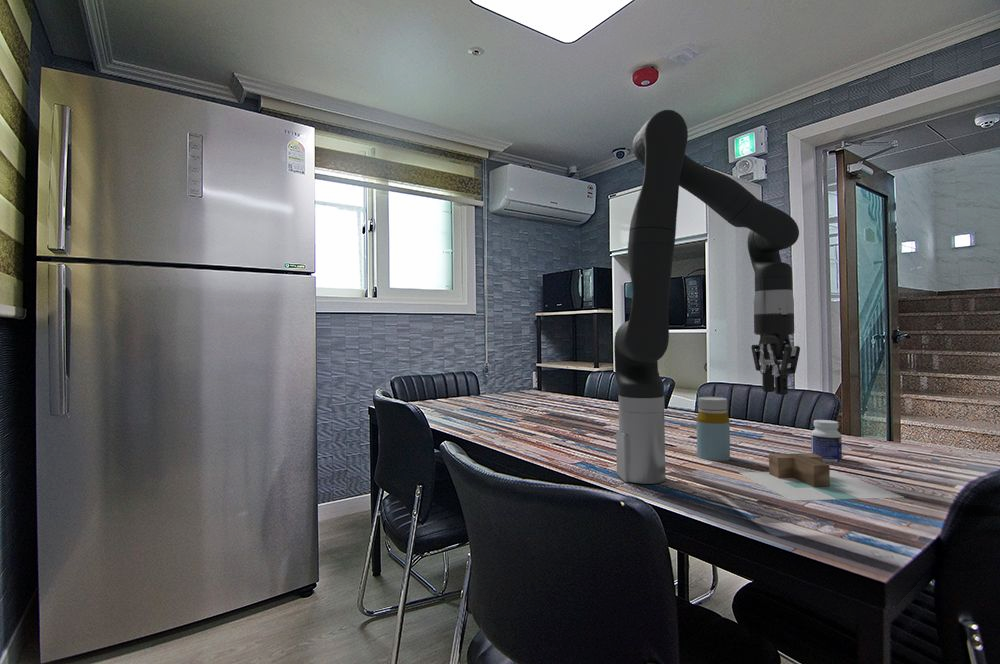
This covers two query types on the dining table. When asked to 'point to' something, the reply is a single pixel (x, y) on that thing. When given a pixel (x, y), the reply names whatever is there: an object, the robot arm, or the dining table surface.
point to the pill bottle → (827, 440)
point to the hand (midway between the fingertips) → (774, 392)
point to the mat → (838, 489)
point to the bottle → (713, 429)
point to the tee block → (800, 468)
